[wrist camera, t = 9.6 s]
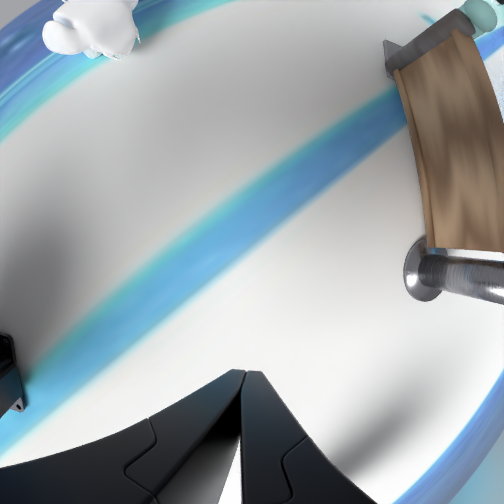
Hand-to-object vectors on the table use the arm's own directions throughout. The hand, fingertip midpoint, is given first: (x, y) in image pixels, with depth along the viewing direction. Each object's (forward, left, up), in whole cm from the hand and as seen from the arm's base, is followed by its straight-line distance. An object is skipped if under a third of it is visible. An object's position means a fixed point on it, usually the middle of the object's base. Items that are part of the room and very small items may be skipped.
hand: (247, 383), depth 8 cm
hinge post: (+16, +3, -11) cm, 20 cm away
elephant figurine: (-10, +17, -12) cm, 23 cm away
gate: (+14, +12, -11) cm, 21 cm away
